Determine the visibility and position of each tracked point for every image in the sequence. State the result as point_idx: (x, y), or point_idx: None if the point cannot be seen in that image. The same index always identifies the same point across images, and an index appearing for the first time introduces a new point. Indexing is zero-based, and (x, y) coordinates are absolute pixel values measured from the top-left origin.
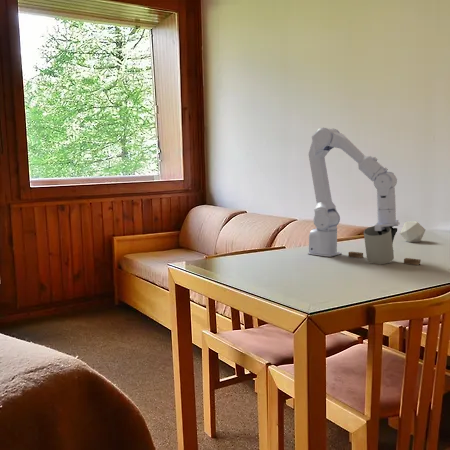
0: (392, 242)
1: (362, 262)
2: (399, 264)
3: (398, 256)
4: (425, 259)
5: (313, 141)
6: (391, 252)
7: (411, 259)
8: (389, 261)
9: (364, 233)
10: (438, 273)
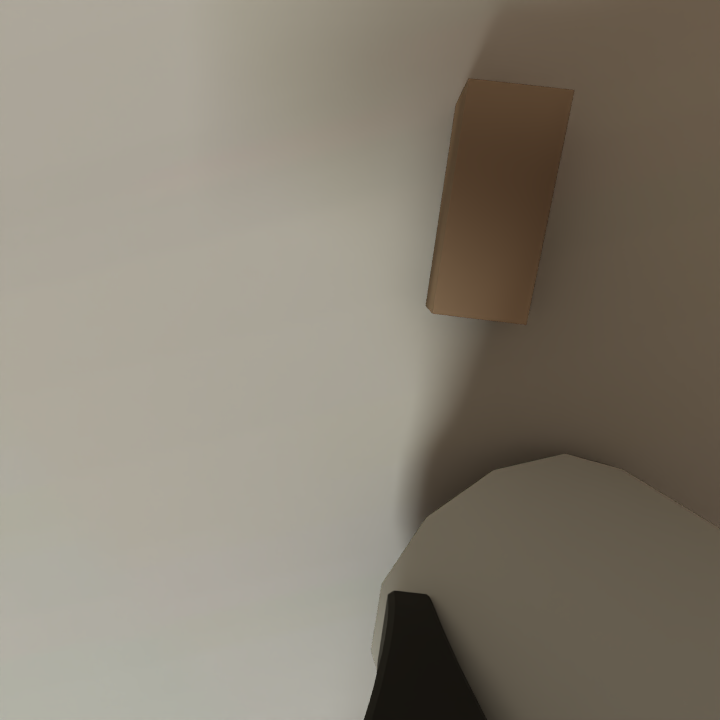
0: (402, 702)
1: None
2: (588, 348)
3: (89, 484)
4: (71, 135)
5: None
6: (685, 527)
7: (527, 212)
8: (623, 472)
9: None
10: None
